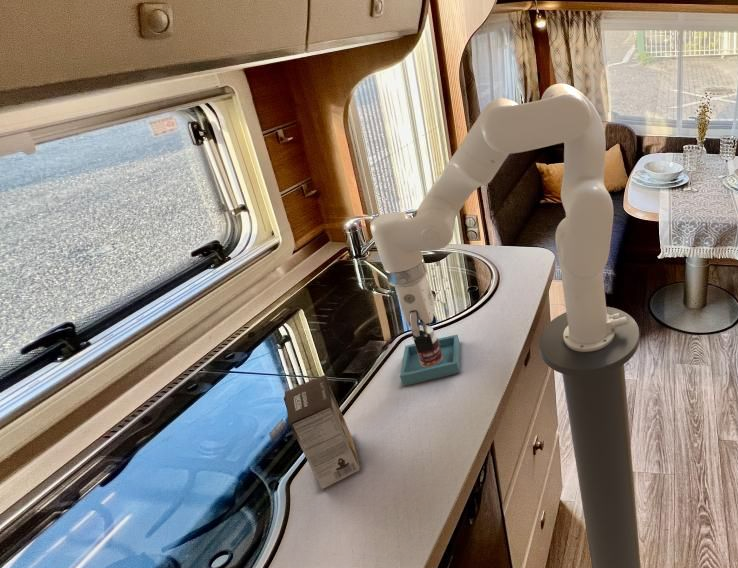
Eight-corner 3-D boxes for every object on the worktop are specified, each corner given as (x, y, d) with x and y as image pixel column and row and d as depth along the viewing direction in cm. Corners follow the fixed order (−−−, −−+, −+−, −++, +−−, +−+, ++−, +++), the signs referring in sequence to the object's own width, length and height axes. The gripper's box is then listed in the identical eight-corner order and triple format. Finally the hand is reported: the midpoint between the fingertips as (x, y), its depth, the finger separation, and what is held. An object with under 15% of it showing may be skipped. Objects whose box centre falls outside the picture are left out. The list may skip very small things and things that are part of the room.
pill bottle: (427, 371, 110) (418, 341, 106) (416, 362, 113) (407, 332, 109) (447, 359, 113) (438, 330, 109) (436, 351, 116) (427, 322, 112)
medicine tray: (459, 343, 119) (457, 334, 118) (459, 372, 110) (456, 363, 109) (408, 355, 116) (405, 345, 115) (403, 386, 107) (399, 376, 106)
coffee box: (314, 455, 92) (283, 390, 85) (352, 437, 95) (325, 373, 88) (321, 491, 85) (287, 423, 78) (362, 470, 88) (333, 403, 81)
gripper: (422, 288, 96) (444, 357, 103) (428, 248, 111) (446, 311, 118) (380, 297, 94) (405, 366, 102) (392, 255, 109) (413, 319, 117)
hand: (427, 337), depth 110 cm, fingers open, 9 cm apart
